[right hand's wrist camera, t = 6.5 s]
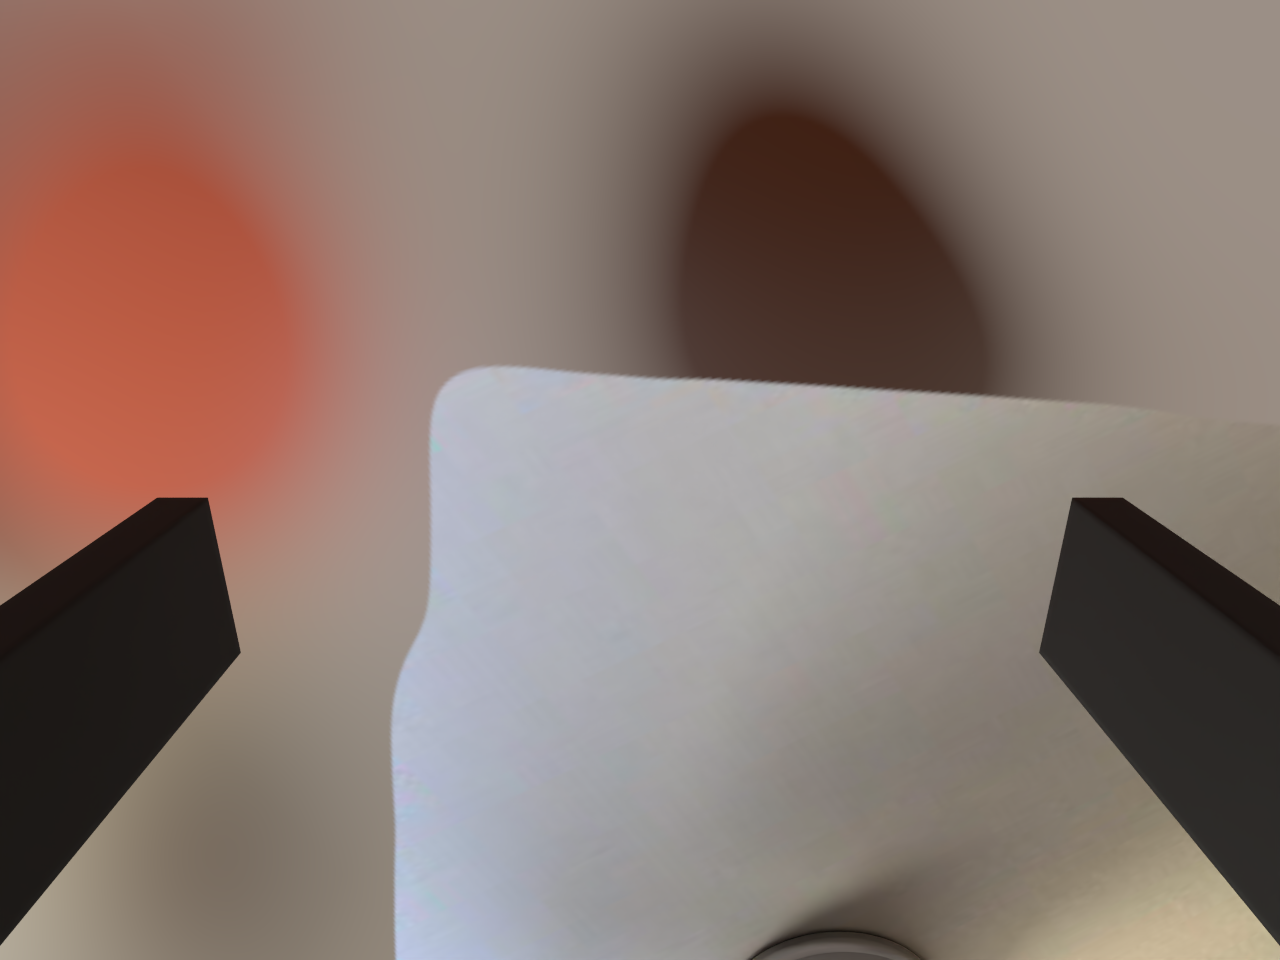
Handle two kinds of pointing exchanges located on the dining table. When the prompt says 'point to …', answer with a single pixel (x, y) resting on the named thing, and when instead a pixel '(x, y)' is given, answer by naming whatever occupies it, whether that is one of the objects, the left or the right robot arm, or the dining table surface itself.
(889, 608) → the dining table surface
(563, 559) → the dining table surface
